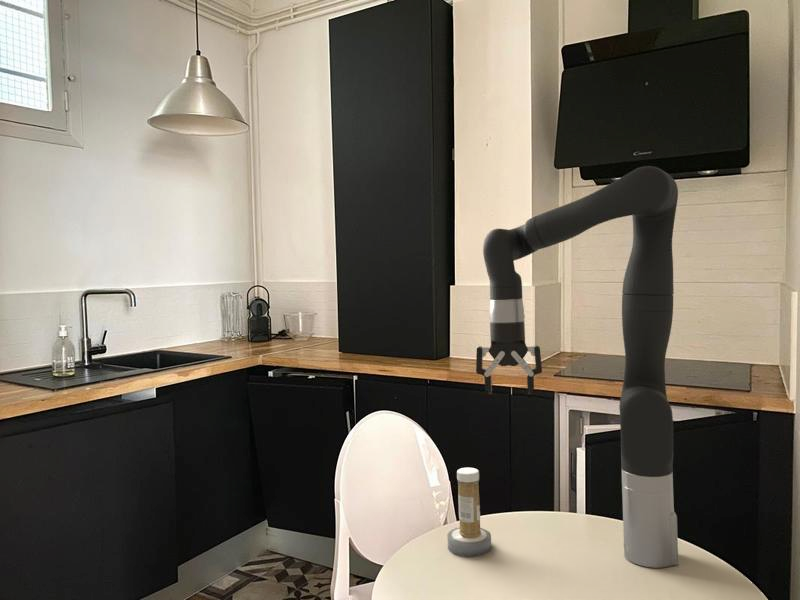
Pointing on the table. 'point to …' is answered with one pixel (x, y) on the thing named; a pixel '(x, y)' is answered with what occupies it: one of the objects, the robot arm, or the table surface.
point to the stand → (469, 543)
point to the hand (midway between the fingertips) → (509, 393)
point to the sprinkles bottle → (469, 502)
